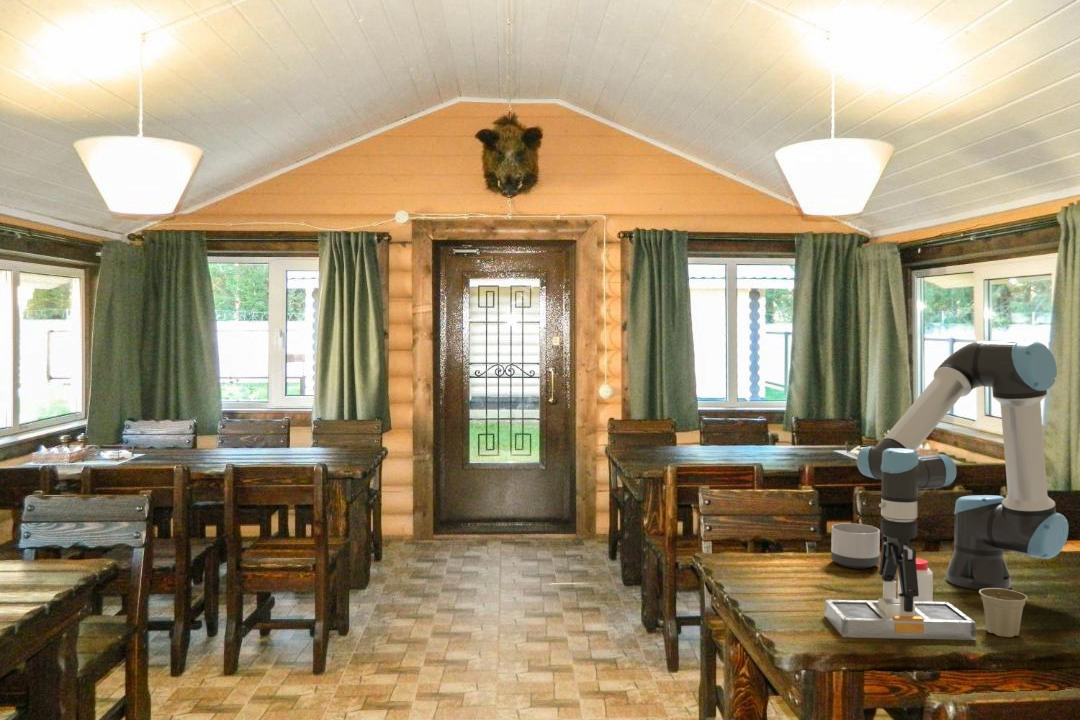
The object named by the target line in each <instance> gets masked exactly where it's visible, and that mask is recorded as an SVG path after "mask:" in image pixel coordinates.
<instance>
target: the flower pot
mask: <svg viewBox="0 0 1080 720" xmlns="http://www.w3.org/2000/svg"><path fill="white" fill-rule="evenodd" d="M978 593H979V595H980V598H981V601H982V604H983V606H982V607H983V612H984V617H985V618H984V619H985V626H986V631H987V632H988V633H989V634H994V635H996V636H998V637H1003V638H1005V637H1006V638H1014V637H1015V636H1016V637H1018V636H1019V635H1020V634H1019V633H1020V627H1021V621H1022V615H1023V610H1024V607H1025V605H1026V601H1028V596H1027V595H1026V594H1025V593H1023V592H1019V591H1017V590H1016V591H1015V590H1012V589H1001V588H985V589H981V590H978Z"/></svg>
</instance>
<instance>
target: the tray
mask: <svg viewBox="0 0 1080 720" xmlns="http://www.w3.org/2000/svg"><path fill="white" fill-rule="evenodd" d="M914 605H915V616H893V619H888V618H887V617H886V616H885V615H884V614H883V613H882V612H881V611H879V610H878V600H871V599H869V600H864V599H863V600H861V599H860V600H859V599H824V616H825V618H826V617H827V618H826V619H827V620H828V622H829V623H830V624H832V626H833V627H834V628H835V630H836V631H837V632H838V633H839V634H840V636H841V637H842V638H857V639H859V638H863V639H865V638H868V639H904V640H905V639H907V640H908V639H909V640H910V639H911V640H918V639H919V640H953V641H954V640H956V641H957V640H959V641H961V640H962V641H967V640H968V641H976V638H977V637H976V632H977V631H976V627H977V623H976V622H975V620H973V619H972V618H970V617H969V616H968V615H966V613H963V611H961V610H959V608H957V607H956V606H954V605H953V604H952V603H951V602H949V601H932V602H925V601H914Z"/></svg>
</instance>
